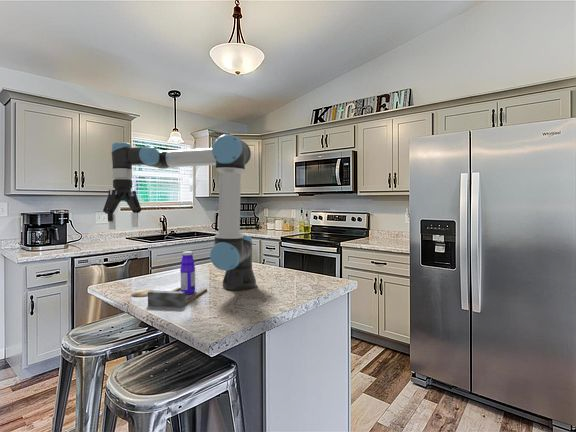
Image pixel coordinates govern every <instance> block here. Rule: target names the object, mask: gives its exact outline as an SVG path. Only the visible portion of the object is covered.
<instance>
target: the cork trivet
mask: <svg viewBox="0 0 576 432" xmlns="http://www.w3.org/2000/svg"><path fill="white" fill-rule="evenodd" d="M151 290H153V291H155V290H154V289H140V290H135V291H133V292H131V296H132V297H135V298H143V297H148V292H149V291H151Z"/></svg>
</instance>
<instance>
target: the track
mask: <svg viewBox="0 0 576 432" xmlns="http://www.w3.org/2000/svg"><path fill="white" fill-rule="evenodd" d="M150 290H151V291H149V292H148V296H147V306H149V307H151V306H153V307H166V308H167V307H169V308H170V307H172V308H183V307H185V306H186V305H187V304H189V303H191V302H192V301H194V300H196V299H197V298H199V297H200V296H202V295H203V294H205V293H207V292H208V288H203V289H201V290H200V291H197V292H195V293H193V294H191V296H189V297H187V298H186V294H185V292H181V287H176V288H174V289H173V290H154V289H150ZM153 290H154V291H153Z"/></svg>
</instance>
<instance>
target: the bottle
mask: <svg viewBox="0 0 576 432" xmlns="http://www.w3.org/2000/svg"><path fill="white" fill-rule="evenodd" d="M181 253H182V255H181V256H182V257H181V261H180V264H181V265H180V268H179V270H180V271H179V272H180V288H181V290H180V292H185V295H193V294H195V293H196V292H195V291H196V273H195V272H196V267H195V263H196V262H195V259H194V255H193V251H190V250H188V251H182V252H181Z"/></svg>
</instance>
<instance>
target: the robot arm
mask: <svg viewBox="0 0 576 432" xmlns="http://www.w3.org/2000/svg"><path fill="white" fill-rule="evenodd" d="M251 156H252V152H251V148H250V146H249V145H248V143H246V142H245V141H243V140H241V139H240V138H239V137H238V136H236V135H232V134H222V135H220V136H218V137H217V138H216V139H215V140H214V141H213V144H212V146H211V147H210V148H209V147H208V148H195V149H194V148H193V149H179V150H178V149H177V150H162V151H161V150H158V149H157V148H156V147H154V146H147V145H146V146H138V147H133V146H132V145H131V143H129V142H123V141H121V142H119V141H118V142H113V143H112V146H111V162H112V163H111V164H112V178H113V180H112V188H113V189H108V195H107V198H106V201H105V203H104V207H103V209H102V212H103V213H105V214H106V215H107V222H108V230H109V231H110V230H113V231H115V230H116V225H117V224H116V222H117V221H116V213H115V212H116V210H117V207H118V206H119V204H120V203H121V202H123V201H124V202H126V204H127V206H128V207H129V208H130V210H131V211H132V212H131V214H130V216H131V228H138V227H139V223H138V222H139V213H141V212H142V208H141V204H140V201H139V199H138V196H137V191H136V190H131V189H132V188H133V180H132V179H133V170H132V169H133V166H146V167H147V166H148V167H152V168H153V167H154V168H157V169H161V170H163V169H165V170H166V169H169V168H177V167H178V168H180V167H200V166H201V167H203V166H204V167H205V166H215V170H216V171H217V172H218V173H219V178H218V179H219V182H218V184H219V185H218V232H217V233H216V234H215V235H214V241H213V242H214V245H213V246H212V247H211V250H210V253H209V258H210V261H211V263H212V265H213V266H214V267H215V268H217V269H218V270H220V271H224V272H225V273H224V276H223V279H222V288H223V289H226V290H231V291H242V290H243V291H244V290H251V289H254V288H255V287H257V279H256V276H255V273H254V271H253V241H252V240H253V239H252V237H251V235H250V236H249V235H243V234H242V233H241V232H240V229H241V227H240V226H241V190H242V189H241V187H242V186H241V185H242V184H241V179H242V174H243V173H244V172H245V171H246V170H245V169H246V168H245V167H246V165H247V164H248V163H249V161H250V159H251V158H252V157H251Z"/></svg>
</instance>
